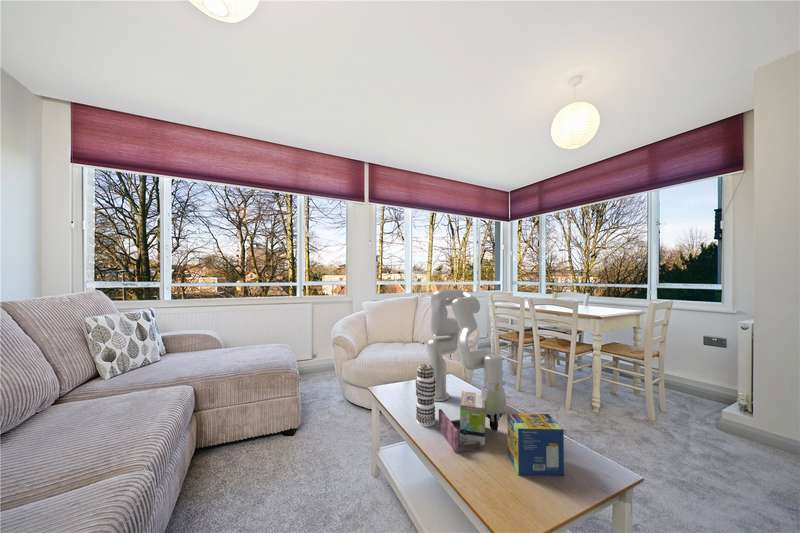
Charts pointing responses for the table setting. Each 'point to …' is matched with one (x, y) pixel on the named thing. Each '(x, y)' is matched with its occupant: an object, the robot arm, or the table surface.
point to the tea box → (472, 418)
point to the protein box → (535, 445)
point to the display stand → (454, 434)
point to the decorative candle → (425, 395)
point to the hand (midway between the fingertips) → (493, 429)
